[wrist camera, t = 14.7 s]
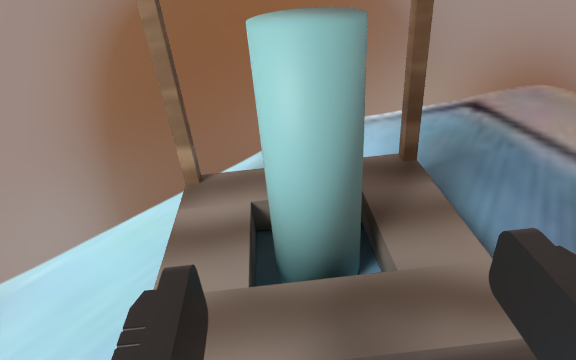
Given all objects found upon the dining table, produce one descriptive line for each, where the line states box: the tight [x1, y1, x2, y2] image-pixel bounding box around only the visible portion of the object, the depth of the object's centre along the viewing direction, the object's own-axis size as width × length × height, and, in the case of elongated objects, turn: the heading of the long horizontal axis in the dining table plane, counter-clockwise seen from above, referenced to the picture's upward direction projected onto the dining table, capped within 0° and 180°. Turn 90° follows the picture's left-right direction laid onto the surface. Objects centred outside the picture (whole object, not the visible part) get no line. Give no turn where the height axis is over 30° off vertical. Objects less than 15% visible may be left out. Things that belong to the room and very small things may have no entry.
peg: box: [246, 7, 368, 283], centre depth 19 cm, size 5×5×14 cm
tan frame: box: [136, 0, 537, 360], centre depth 16 cm, size 16×17×27 cm
